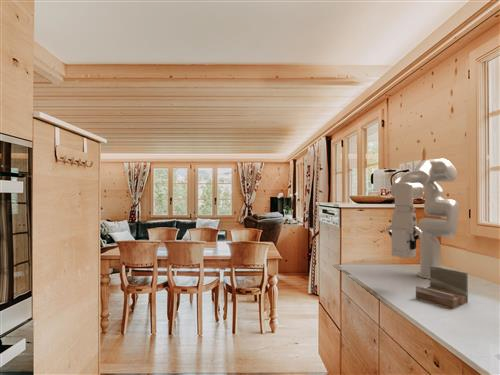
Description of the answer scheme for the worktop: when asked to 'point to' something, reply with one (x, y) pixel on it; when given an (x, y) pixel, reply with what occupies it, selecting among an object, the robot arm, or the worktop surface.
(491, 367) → the worktop surface
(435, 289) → the wall shelf
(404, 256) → the supplement box
